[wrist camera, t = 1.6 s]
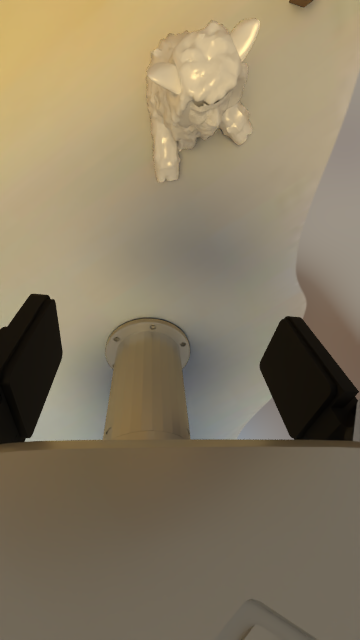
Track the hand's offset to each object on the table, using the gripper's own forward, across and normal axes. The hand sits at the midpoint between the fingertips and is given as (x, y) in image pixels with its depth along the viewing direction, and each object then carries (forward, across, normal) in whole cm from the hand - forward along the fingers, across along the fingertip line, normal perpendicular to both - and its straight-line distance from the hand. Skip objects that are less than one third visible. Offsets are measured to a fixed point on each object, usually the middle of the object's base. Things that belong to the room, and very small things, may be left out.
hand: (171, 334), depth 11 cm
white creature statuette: (+21, -1, -8) cm, 22 cm away
